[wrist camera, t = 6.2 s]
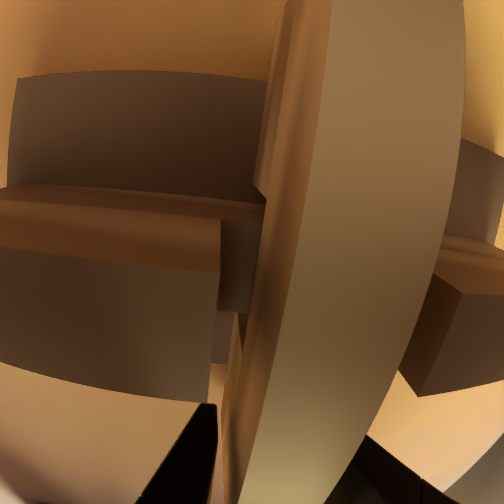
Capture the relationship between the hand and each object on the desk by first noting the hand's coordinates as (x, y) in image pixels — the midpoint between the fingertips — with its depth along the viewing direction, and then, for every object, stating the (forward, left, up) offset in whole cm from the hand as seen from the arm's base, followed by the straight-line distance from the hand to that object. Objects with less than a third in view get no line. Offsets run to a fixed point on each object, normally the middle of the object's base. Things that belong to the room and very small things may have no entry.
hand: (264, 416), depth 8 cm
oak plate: (+4, 0, -2) cm, 4 cm away
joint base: (+4, 0, -3) cm, 5 cm away
